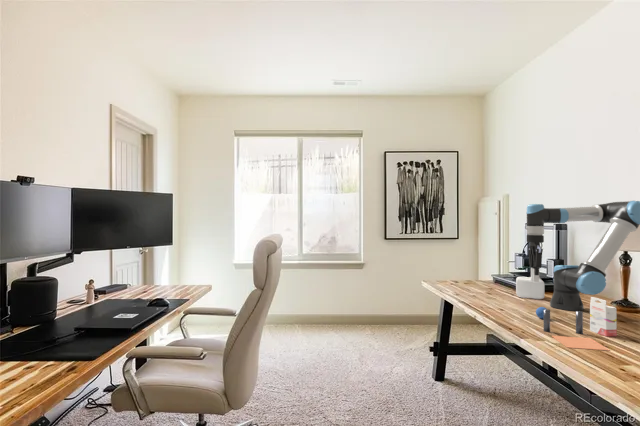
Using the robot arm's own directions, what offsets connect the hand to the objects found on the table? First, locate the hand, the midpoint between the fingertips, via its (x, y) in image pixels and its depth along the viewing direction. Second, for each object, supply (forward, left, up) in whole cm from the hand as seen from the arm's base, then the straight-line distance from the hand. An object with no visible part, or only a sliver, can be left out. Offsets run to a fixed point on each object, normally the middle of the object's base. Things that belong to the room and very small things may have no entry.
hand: (535, 280), depth 188 cm
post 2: (-6, +32, -16) cm, 36 cm away
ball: (0, +10, -14) cm, 17 cm away
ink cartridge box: (-16, +30, -17) cm, 38 cm away
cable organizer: (-12, -44, -17) cm, 48 cm away
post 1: (+6, +32, -16) cm, 36 cm away
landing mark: (0, +46, -16) cm, 48 cm away
